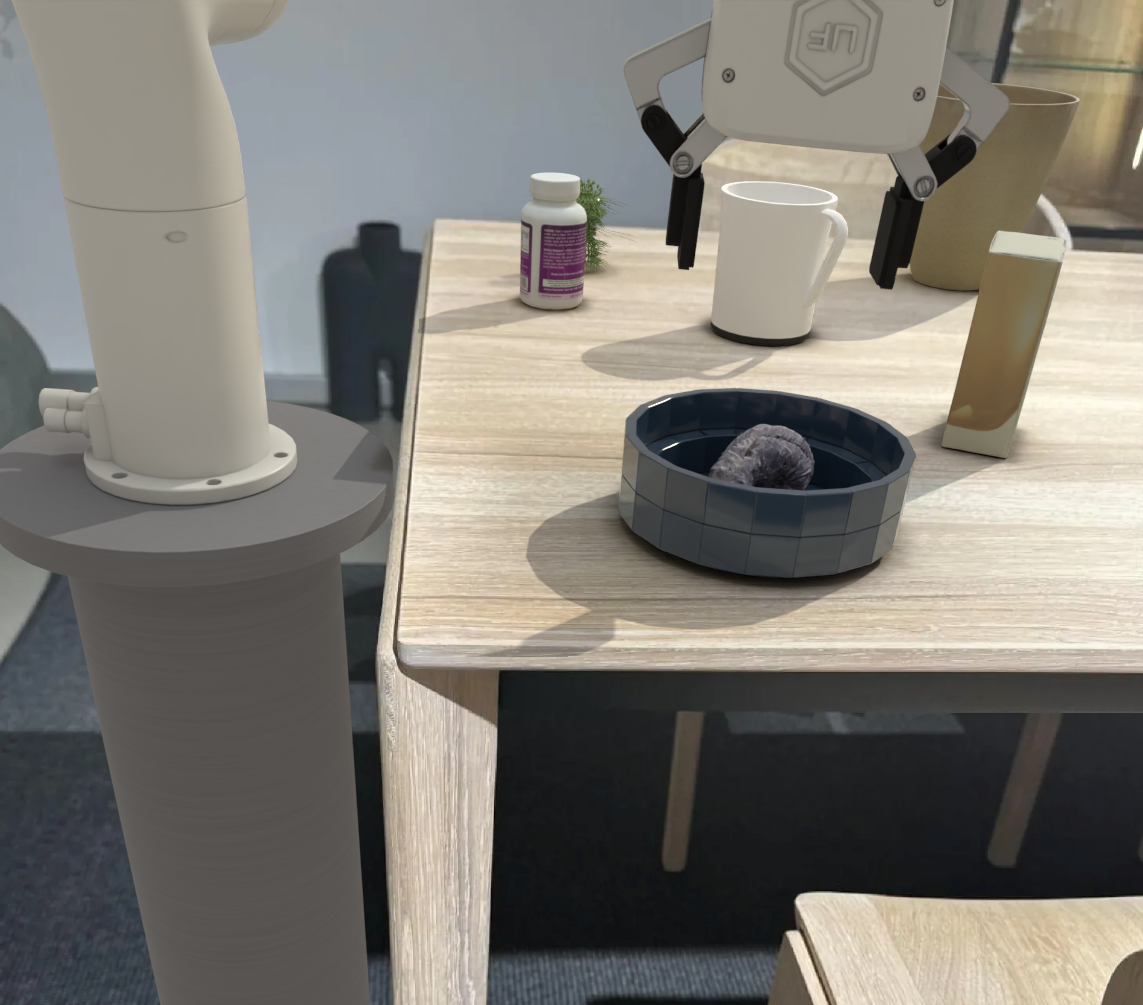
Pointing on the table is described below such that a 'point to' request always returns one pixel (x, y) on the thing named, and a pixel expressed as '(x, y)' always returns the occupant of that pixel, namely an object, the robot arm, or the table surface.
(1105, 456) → the table surface
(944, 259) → the plant pot
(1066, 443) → the table surface
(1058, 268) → the cosmetic box
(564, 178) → the pill bottle
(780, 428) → the seashell
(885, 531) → the bowl
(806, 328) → the mug
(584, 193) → the green plant
